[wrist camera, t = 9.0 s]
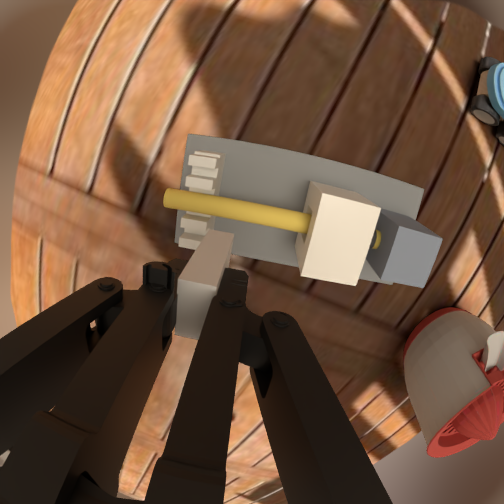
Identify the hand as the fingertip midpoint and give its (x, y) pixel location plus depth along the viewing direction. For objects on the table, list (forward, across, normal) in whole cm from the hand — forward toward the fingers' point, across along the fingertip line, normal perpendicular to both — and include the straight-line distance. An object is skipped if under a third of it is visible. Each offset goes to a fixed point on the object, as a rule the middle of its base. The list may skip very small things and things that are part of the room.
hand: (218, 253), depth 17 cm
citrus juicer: (+14, +32, -12) cm, 36 cm away
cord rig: (+13, +7, +1) cm, 15 cm away
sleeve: (+12, +9, +1) cm, 15 cm away
